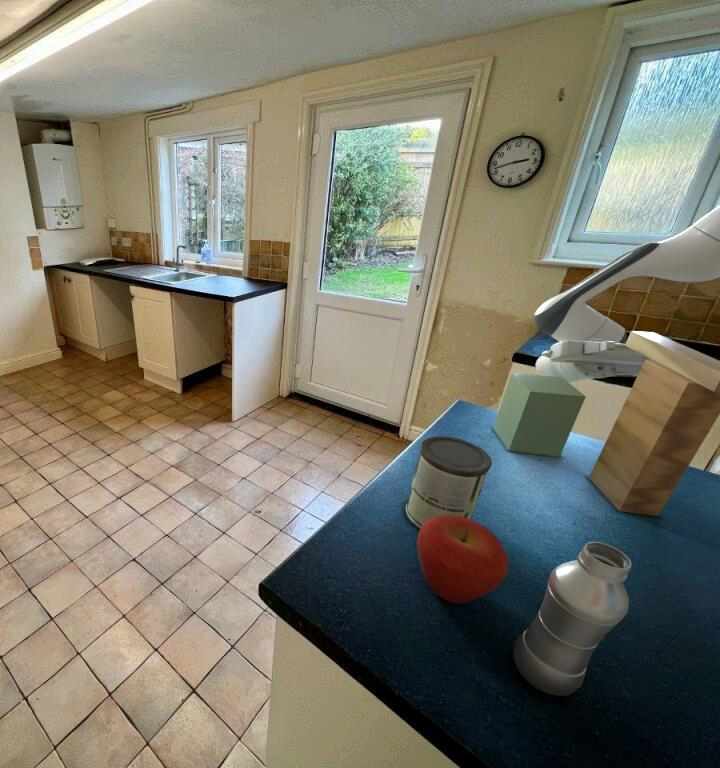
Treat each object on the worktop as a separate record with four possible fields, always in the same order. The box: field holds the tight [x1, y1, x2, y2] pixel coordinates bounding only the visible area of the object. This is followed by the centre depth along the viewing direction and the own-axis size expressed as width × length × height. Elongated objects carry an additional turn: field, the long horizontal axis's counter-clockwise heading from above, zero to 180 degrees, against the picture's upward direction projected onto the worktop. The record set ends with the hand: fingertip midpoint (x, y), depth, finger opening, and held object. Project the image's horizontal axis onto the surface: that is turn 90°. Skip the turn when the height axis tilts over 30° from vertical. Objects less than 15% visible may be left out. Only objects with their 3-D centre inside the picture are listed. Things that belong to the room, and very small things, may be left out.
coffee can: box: [405, 435, 493, 530], centre depth 72 cm, size 10×10×14 cm
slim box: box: [625, 330, 720, 392], centre depth 70 cm, size 4×21×3 cm, turn 166°
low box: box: [492, 372, 587, 458], centre depth 94 cm, size 10×10×15 cm
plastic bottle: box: [512, 541, 632, 697], centre depth 46 cm, size 6×7×20 cm
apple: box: [416, 515, 510, 604], centre depth 58 cm, size 11×11×12 cm
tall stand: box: [588, 360, 720, 517], centre depth 74 cm, size 6×10×26 cm, turn 166°
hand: (640, 347), depth 79 cm, fingers open, 8 cm apart
